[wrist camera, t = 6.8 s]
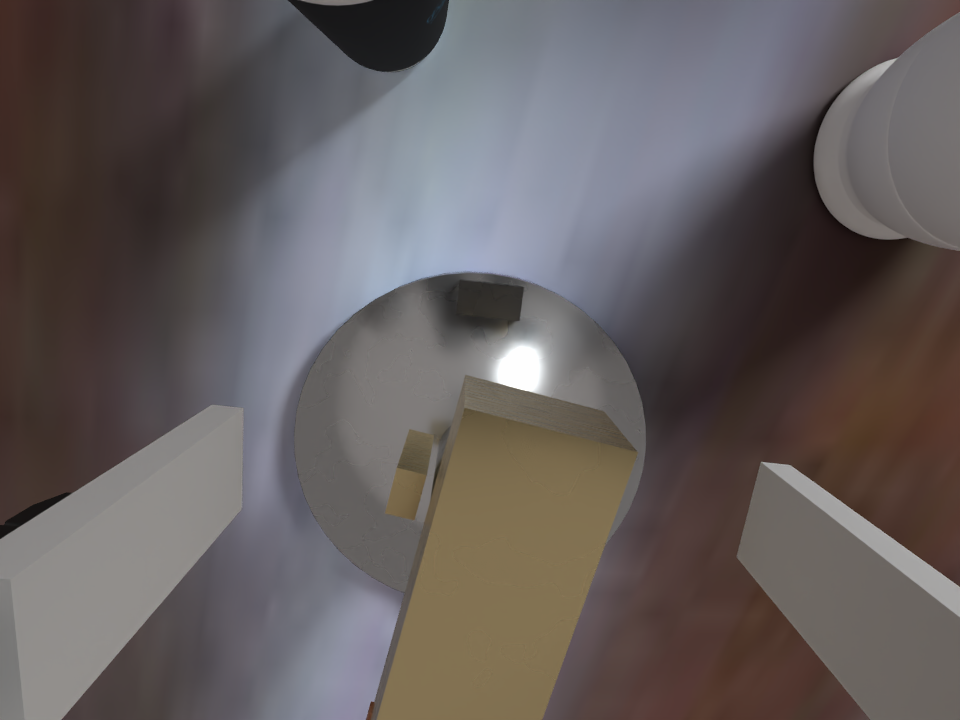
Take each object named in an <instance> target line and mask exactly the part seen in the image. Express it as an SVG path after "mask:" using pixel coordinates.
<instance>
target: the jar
mask: <svg viewBox="0 0 960 720" xmlns="http://www.w3.org/2000/svg"><path fill="white" fill-rule="evenodd" d="M814 175H815V181H816V185H817V188H818V191H819V194H820V196H821V199H822V200H823V202H824V204H825V206H826V207H827V209H828V210H829V212H830V213H831V214H832V215H833V216H834V217H835V218H836V219H837V220H838V221H839V222H840V223H841V224H843V225H844V226H845V227H847V228H849V229H850V230H852V231H854V232H856V233H858V234H861V235H864V236H867V237H871V238H876V239H887V240H891V239H902V238H910V239H913V240H916V241H919V242H922V243H925V244H929V245H933V246H937V247H942V248H947V249H952V250H959V251H960V12H959V13H958V14H956V15H954V16H953V17H951V18H950V19H948V20H947V21H945V22H944V23H942V24H941V25H939V26H938V27H936V28H935V29H933V30H932V31H930V32H929V33H928V34H926V35H925V36H924V37H922V38H921V39H920V40H918V41H917V42H916V43H915V44H913V45H912V46H911V47H910V48H909V49H907V50H906V51H905V52H904V53H903V54H902V55H901V56H900V57H899V58H896V59H892V60H889V61H886V62H884V63H881V64H879V65H877V66H875V67H873V68H871V69H869V70H867V71H866V72H864V73H863V74H861V75H860V76H859V77H857V78H856V79H855V80H854V81H852V82H851V83H850V84H849V85H848V86H847V87H846V88H845V89H844V90H843V91H842V92H841V93H840V95H839V96H838V97H837V98H836V100H835V101H834V102H833V104H832V105H831V107H830V108H829V110H828V112H827V113H826V115H825V117H824V120H823V122H822V124H821V126H820V129H819V132H818V136H817V139H816V143H815V149H814Z"/></svg>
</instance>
